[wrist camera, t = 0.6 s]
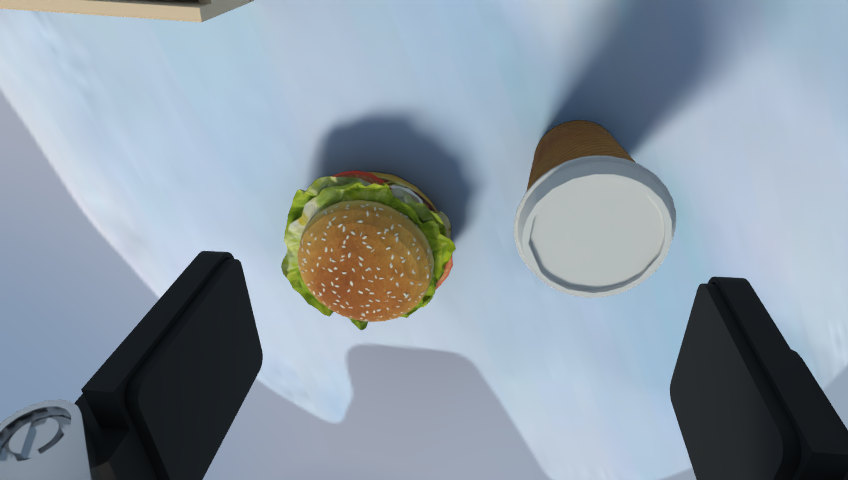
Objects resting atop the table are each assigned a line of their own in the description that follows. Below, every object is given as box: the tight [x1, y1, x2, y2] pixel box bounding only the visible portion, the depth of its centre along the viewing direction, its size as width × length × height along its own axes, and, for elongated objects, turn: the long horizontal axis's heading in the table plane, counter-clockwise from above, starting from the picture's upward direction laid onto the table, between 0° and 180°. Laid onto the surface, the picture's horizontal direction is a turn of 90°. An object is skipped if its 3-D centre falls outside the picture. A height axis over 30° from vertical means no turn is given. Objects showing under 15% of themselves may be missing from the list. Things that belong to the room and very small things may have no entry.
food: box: [281, 170, 456, 330], centre depth 45 cm, size 14×14×8 cm
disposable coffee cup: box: [514, 120, 676, 298], centre depth 38 cm, size 10×10×12 cm
